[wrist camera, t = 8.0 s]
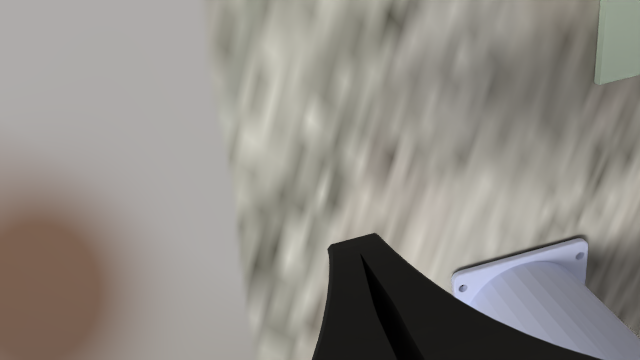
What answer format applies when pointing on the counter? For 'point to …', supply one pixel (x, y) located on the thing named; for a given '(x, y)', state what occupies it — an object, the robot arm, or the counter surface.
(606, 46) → the sage mat
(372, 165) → the counter surface
